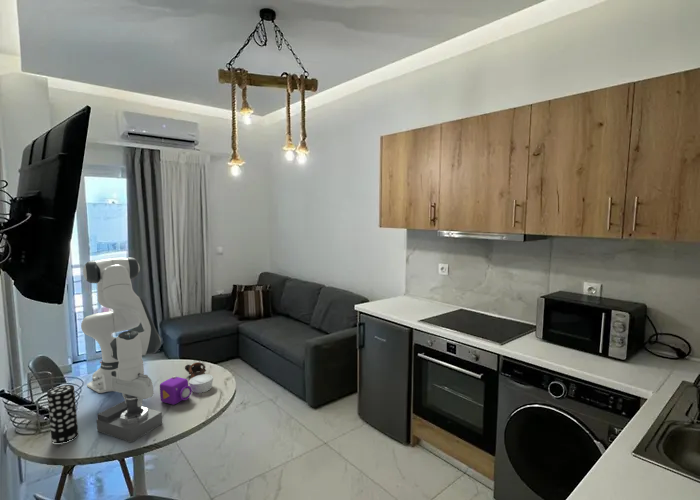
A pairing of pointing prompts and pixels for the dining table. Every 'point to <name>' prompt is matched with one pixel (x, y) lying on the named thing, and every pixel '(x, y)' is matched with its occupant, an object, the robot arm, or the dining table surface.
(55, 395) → the spotted tube
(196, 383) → the ramekin
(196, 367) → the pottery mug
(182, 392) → the toy camera
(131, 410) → the lens
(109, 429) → the camera body
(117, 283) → the robot arm
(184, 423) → the dining table surface
